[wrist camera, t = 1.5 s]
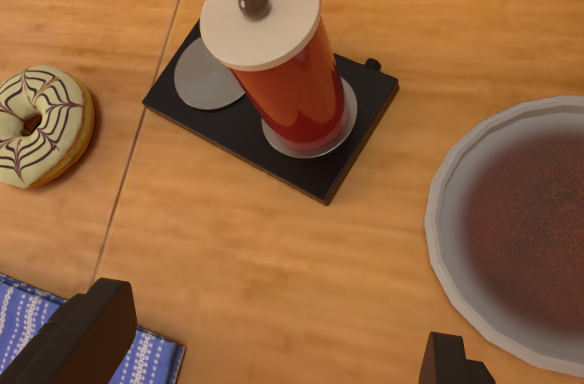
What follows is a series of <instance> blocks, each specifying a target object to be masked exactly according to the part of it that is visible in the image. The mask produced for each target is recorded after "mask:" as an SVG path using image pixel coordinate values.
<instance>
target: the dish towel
mask: <svg viewBox="0 0 584 384" xmlns="http://www.w3.org/2000/svg"><path fill="white" fill-rule="evenodd" d="M66 301H68V300H66V299H63V298H60V297H57V296H55V295H53V294H51V293H49V292H45V291H42V290H40V289H38V288H35V287H32V286H29V285H28V284H26V283H22V282H20V281H17V280H15V279H12V278H10V277H8V276H6V275H4V274H1V273H0V375H1V374H2V372H3V371H4V370H5V369H6V368H7V367H8V365H9V364H10V363H11V362H12V361H13V360H14V358H15V357H16V356H17V355H18V354H19V353H20V351H21V350H22V349H23V348H24V347H25V346H26V344H27V343H28V342H29V341H30V340H31V339H32V338H33V336H34V335H37V332H38V331H39V329H40V328H41V327H42V326H43V325H44V324H45V323H47V322H48V319H49V318H50V317H51V315H52V314H53V313H54V312H55V311H56V310H57V308H58V307H59V306H60V305H61V304H63V303H64V302H66ZM184 351H185V347H183V346H178V345H176V343H175V342H174V341H171V340H167V339H165V338H164V337H161V336H159V335H157V334H155V333H152V332H150V331H147V330H145V329H142V328H140V327H138V326H137V332H136V336H135V339H134V342H133V344H132V346H131V348H130V349H129V351H128V352H127V354H126V356H125V357H124V359H123V361H122V362H121V364H120V365H119V367H118V369H117V370H116V372H115V374H114V375H113V377H112V378H111V380H110V382H109V383H108V384H175V382H176V378H177V373H178V370H179V368H180V364H181V361H182V357H183V355H184Z"/></svg>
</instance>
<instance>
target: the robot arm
mask: <svg viewBox="0 0 584 384" xmlns="http://www.w3.org/2000/svg"><path fill="white" fill-rule="evenodd" d="M136 332H137V318H136V312H135V305H134V299H133V293H132V287H131V284H130V283H129V282H127V281H121V280H115V279H108V278H100V279H98V280H97V281H96V282H95V283H94V285H93V286H92V287H91V288H90V290H89V291H88V292H87V293H86V294H79V293H78V294H77V295H75V296H74V297H72V298H71V299H69V300H68V301H66V302H64V303H63V304H61V305H60V306H59V307H58V308H57V310H56V311H55V312H54V313H53V314H52V315H51V317H50V318H49V319H48V322H47V323H45V324H44V325H43V326H42V327H41V328H40V329H39V331H38V332H37V335H34V336H33V338H32V339H31V340H30V341H29V342H28V343H27V344H26V346H25V347H24V348H23V349H22V350H21V351H20V353H19V354H18V355H17V356H16V357H15V358H14V360H13V361H12V362H11V363H10V364H9V365H8V367H7V368H6V369H5V370H4V371H3V372H2V374H1V375H0V384H108V383H109V382H110V380H111V378H112V377H113V375H114V374H115V372H116V370H117V369H118V367H119V365H120V364H121V362H122V361H123V359H124V357H125V356H126V354H127V352H128V351H129V349H130V348H131V346H132V344H133V342H134V339H135V336H136ZM418 384H496V383H495V380H494V379H493V377H492V376H491V374H490V373H489V371H488V370H487V368H486V366H485V365H484V363H483V362H479V361H473V360H467V359H466V356H465V350H464V343H463V339H462V337H461V336H456V335H450V334H443V333H437V332H430V334H429V338H428V342H427V346H426V350H425V354H424V358H423V362H422V366H421V371H420V376H419V383H418Z"/></svg>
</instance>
